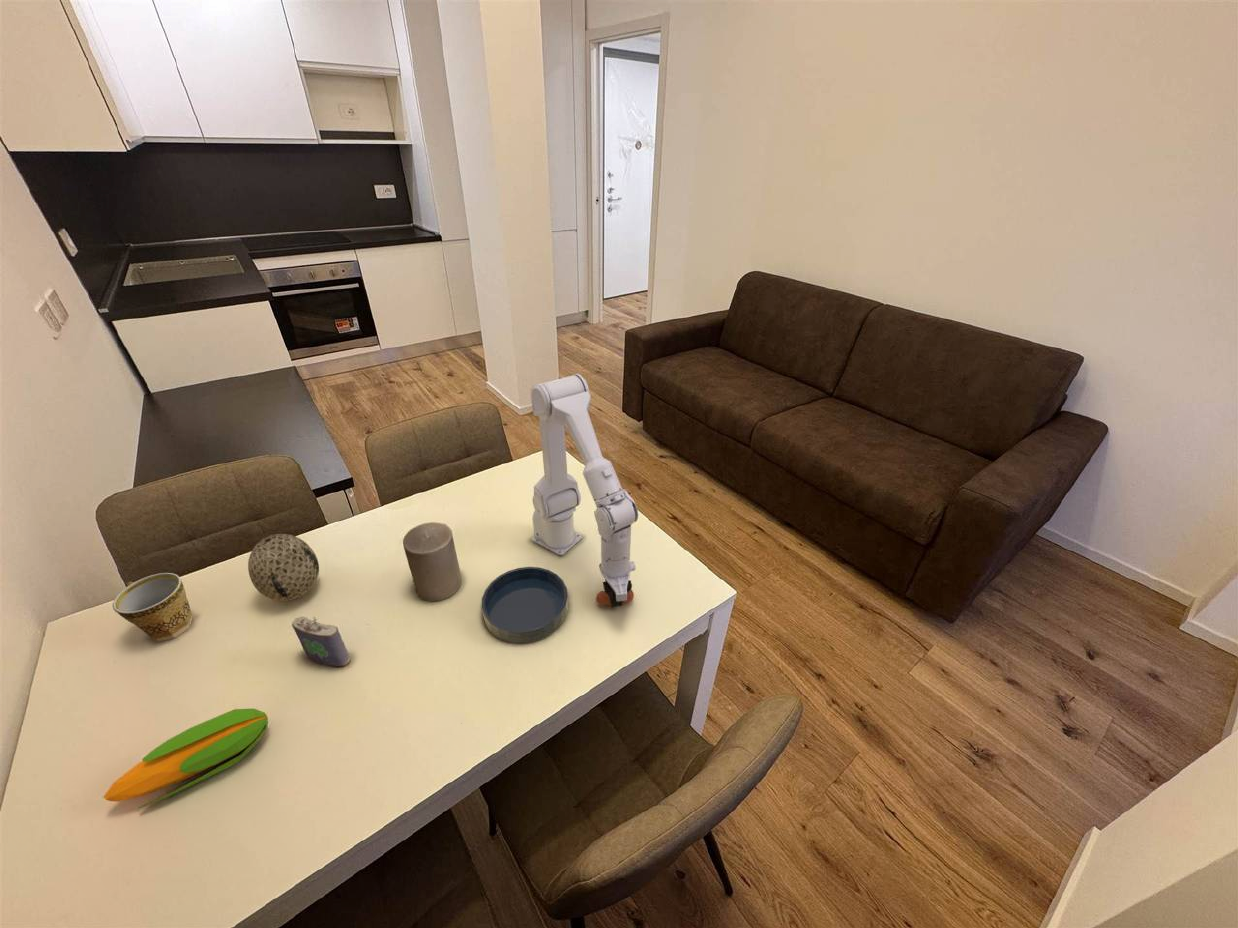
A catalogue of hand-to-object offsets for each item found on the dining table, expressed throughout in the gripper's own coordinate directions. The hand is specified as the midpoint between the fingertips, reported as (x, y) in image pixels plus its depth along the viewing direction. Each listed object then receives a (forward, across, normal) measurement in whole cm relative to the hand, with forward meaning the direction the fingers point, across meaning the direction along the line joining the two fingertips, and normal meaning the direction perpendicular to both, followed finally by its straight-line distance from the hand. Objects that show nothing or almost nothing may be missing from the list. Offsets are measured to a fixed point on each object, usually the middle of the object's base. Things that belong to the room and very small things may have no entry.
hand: (614, 598), depth 106 cm
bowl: (+1, +1, +18) cm, 18 cm away
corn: (+1, -22, +69) cm, 72 cm away
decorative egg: (+1, +14, +66) cm, 68 cm away
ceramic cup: (+1, +9, +88) cm, 89 cm away
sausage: (-1, 0, 0) cm, 1 cm away
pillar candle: (+1, +11, +37) cm, 39 cm away
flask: (+1, -4, +55) cm, 55 cm away
